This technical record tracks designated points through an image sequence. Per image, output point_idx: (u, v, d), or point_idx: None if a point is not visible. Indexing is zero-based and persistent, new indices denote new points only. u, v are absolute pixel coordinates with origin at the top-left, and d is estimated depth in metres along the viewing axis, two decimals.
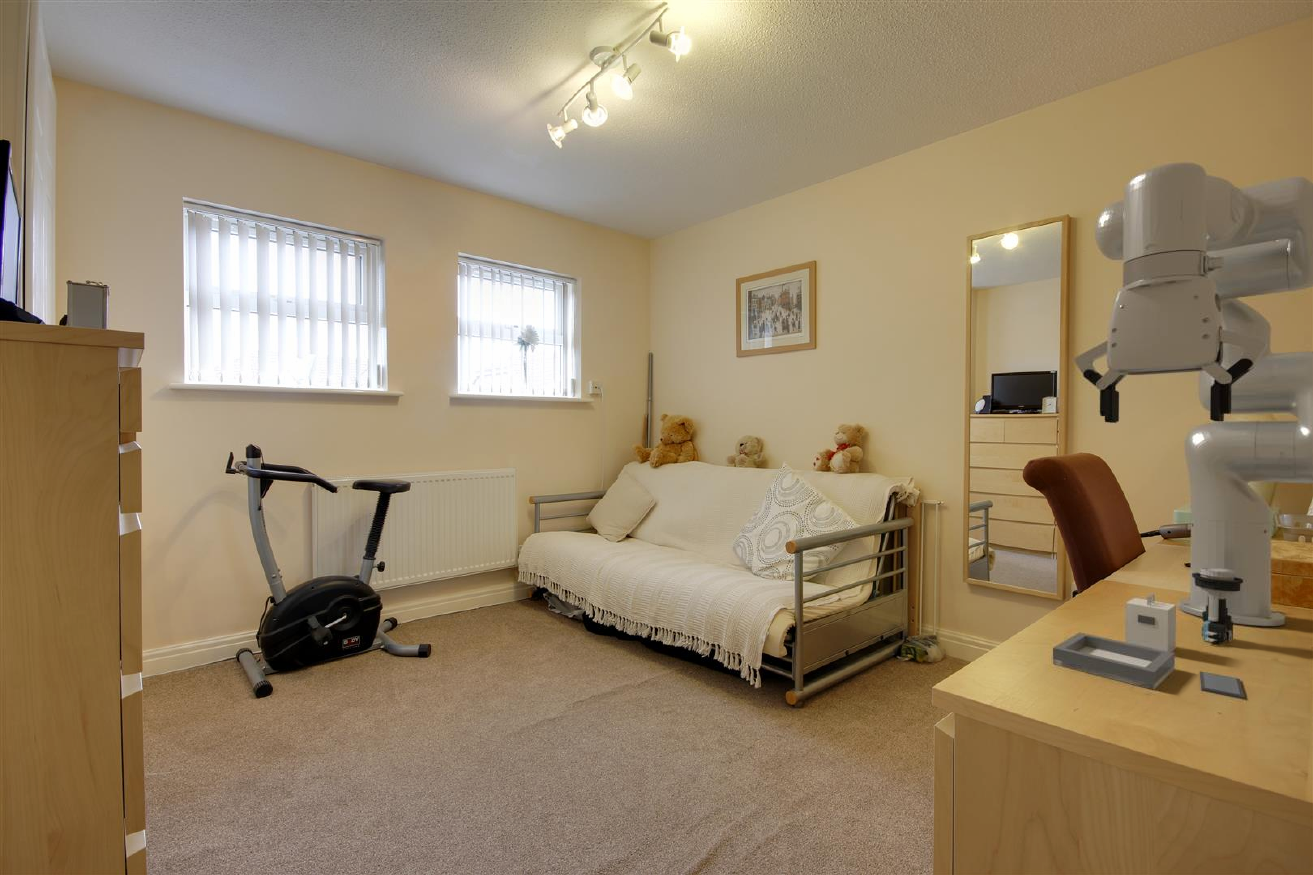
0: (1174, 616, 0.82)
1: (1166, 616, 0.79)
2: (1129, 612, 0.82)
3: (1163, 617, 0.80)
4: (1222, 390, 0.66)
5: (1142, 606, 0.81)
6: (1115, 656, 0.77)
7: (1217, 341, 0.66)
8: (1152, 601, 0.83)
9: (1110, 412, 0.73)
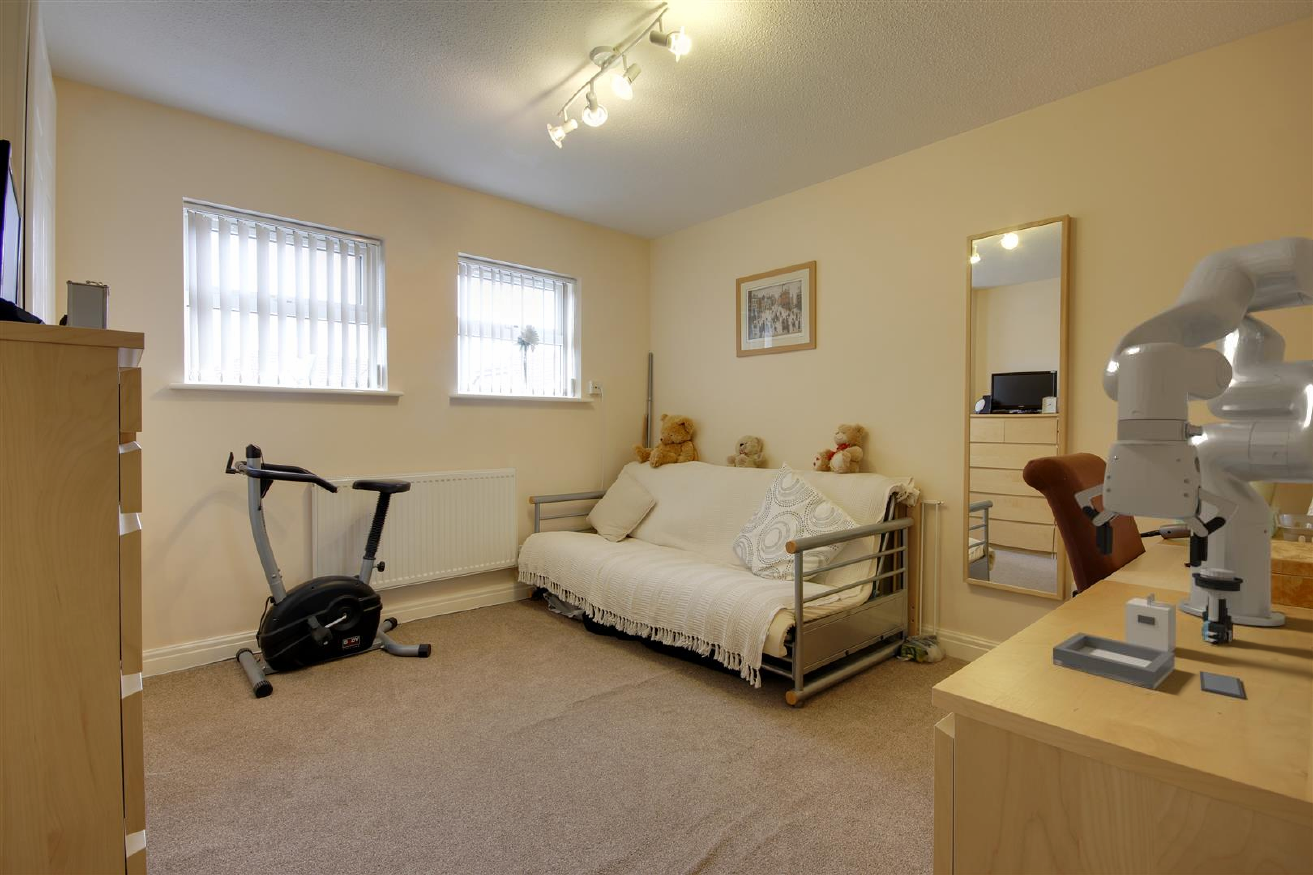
0: (1174, 616, 0.82)
1: (1166, 616, 0.79)
2: (1129, 612, 0.82)
3: (1163, 617, 0.80)
4: (1200, 541, 0.78)
5: (1142, 606, 0.81)
6: (1115, 656, 0.77)
7: (1196, 499, 0.77)
8: (1152, 601, 0.83)
9: (1105, 546, 0.85)
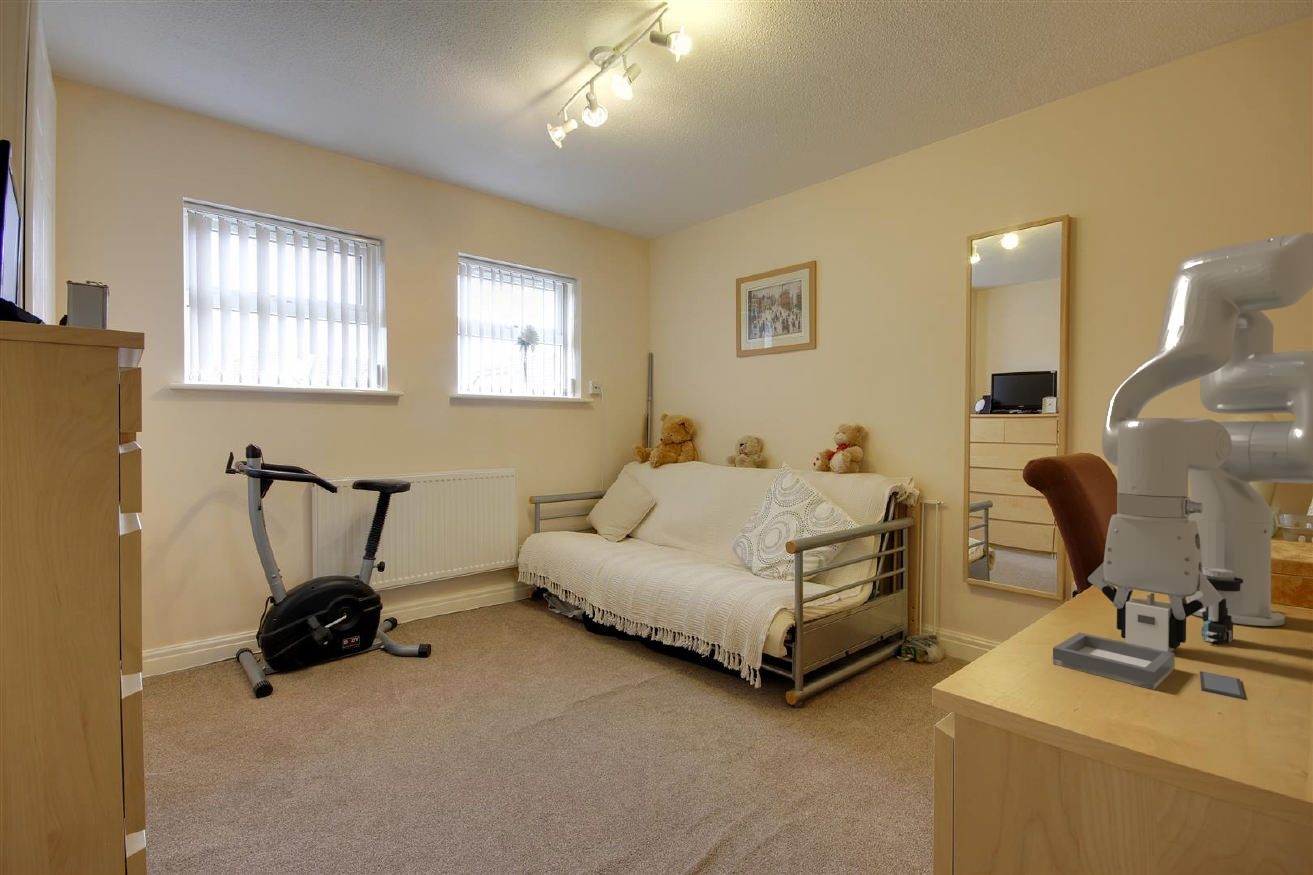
0: None
1: (1166, 616, 0.79)
2: (1129, 612, 0.82)
3: (1163, 617, 0.80)
4: (1178, 623, 0.80)
5: (1142, 606, 0.81)
6: (1115, 656, 0.77)
7: (1196, 577, 0.78)
8: (1152, 601, 0.83)
9: None
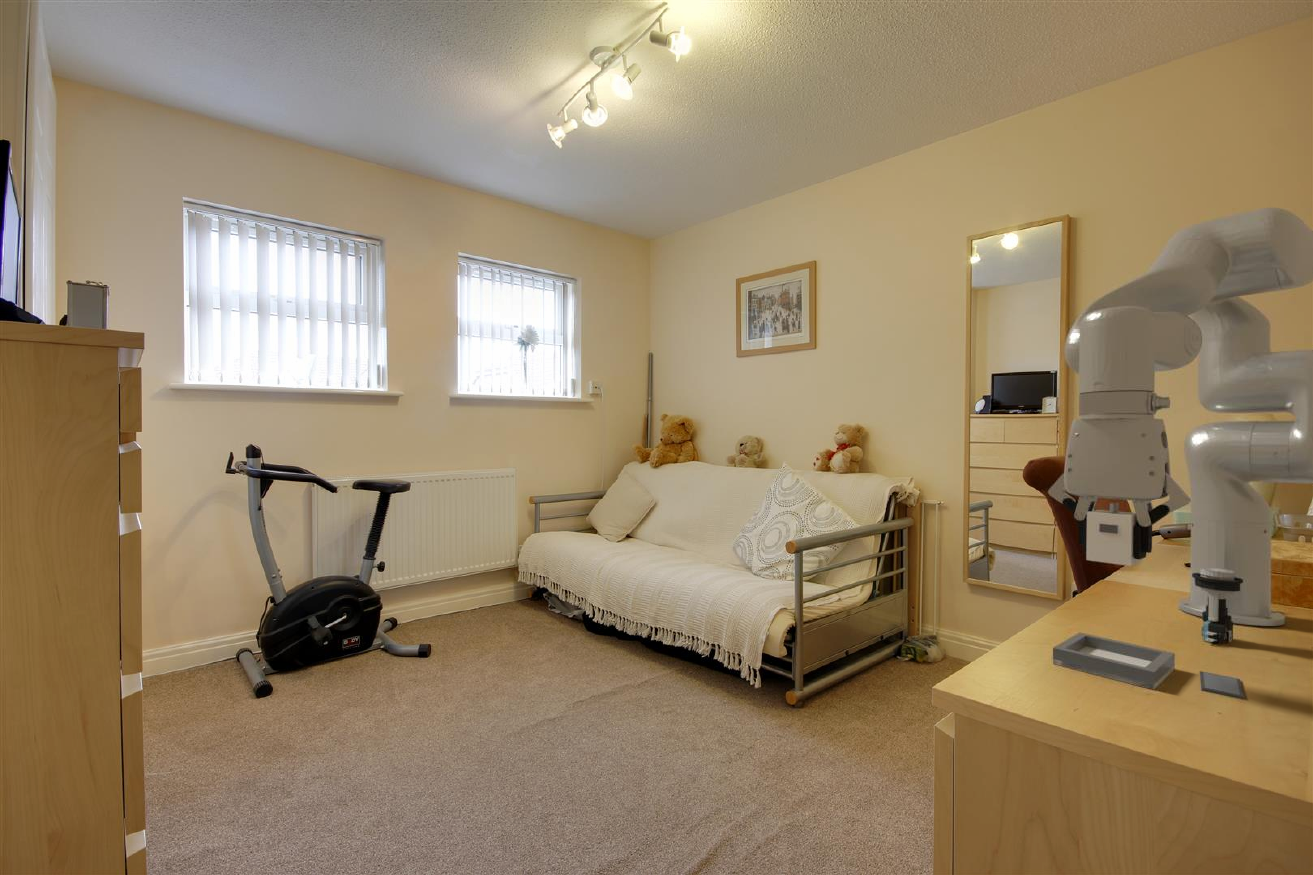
0: None
1: (1129, 522, 0.72)
2: (1090, 522, 0.75)
3: (1126, 524, 0.72)
4: (1143, 531, 0.72)
5: (1104, 514, 0.74)
6: (1115, 656, 0.77)
7: (1162, 478, 0.70)
8: (1116, 510, 0.75)
9: None
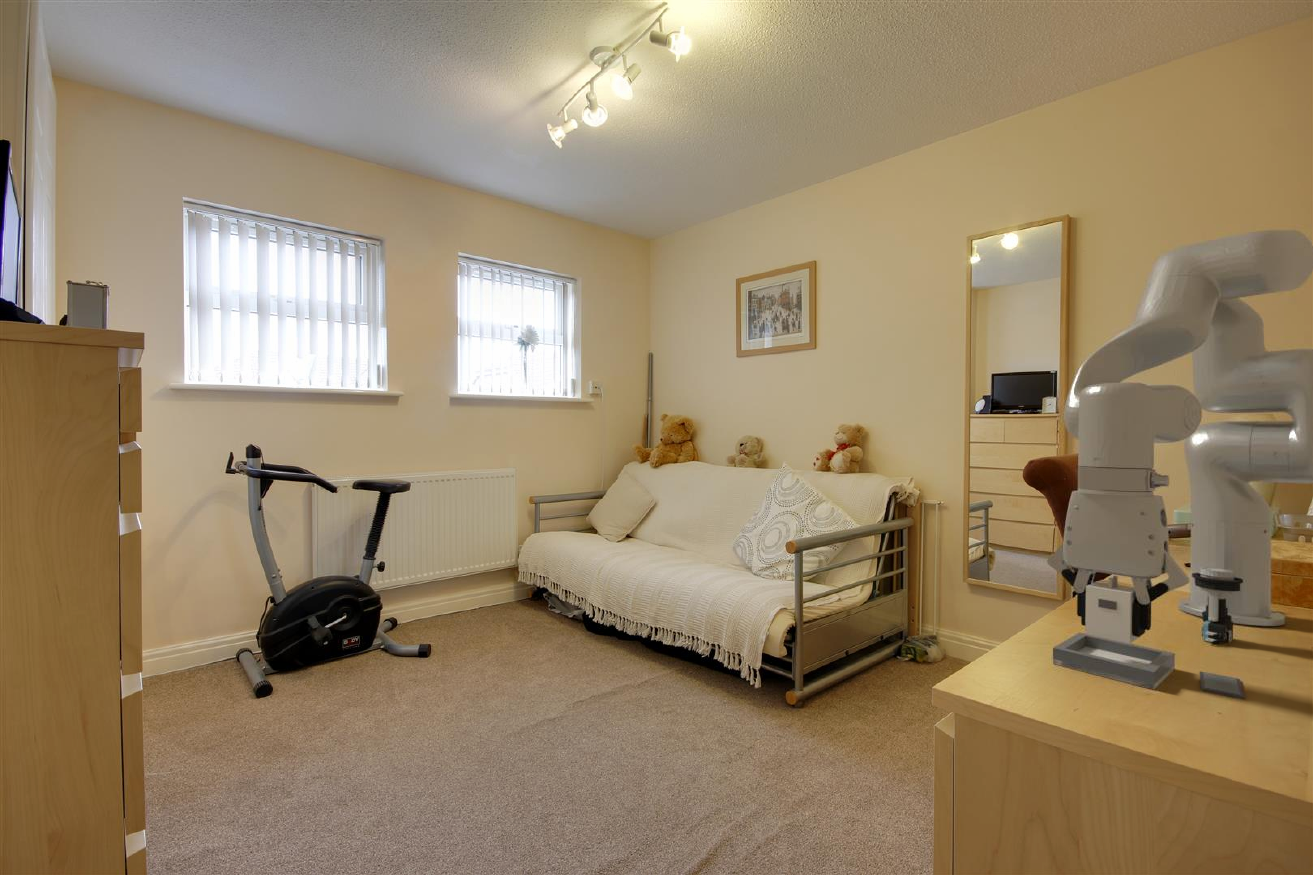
0: None
1: (1128, 600, 0.72)
2: (1089, 596, 0.75)
3: (1125, 601, 0.72)
4: (1142, 608, 0.72)
5: (1103, 589, 0.74)
6: (1115, 656, 0.77)
7: (1162, 557, 0.70)
8: (1115, 584, 0.75)
9: None
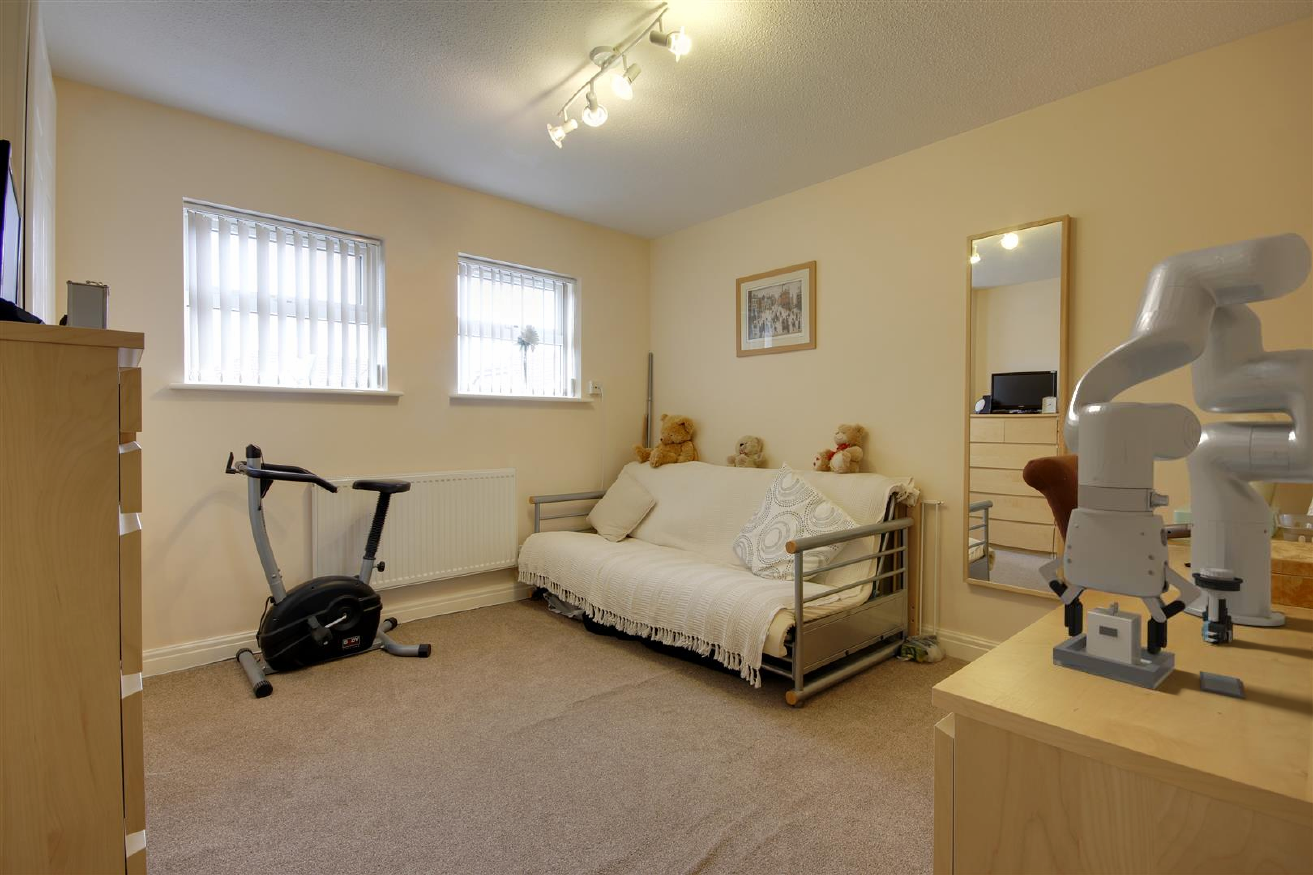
0: (1139, 627, 0.74)
1: (1129, 627, 0.72)
2: (1090, 623, 0.75)
3: (1126, 629, 0.72)
4: (1158, 626, 0.71)
5: (1104, 616, 0.74)
6: None
7: (1162, 577, 0.70)
8: (1116, 610, 0.75)
9: (1074, 628, 0.77)
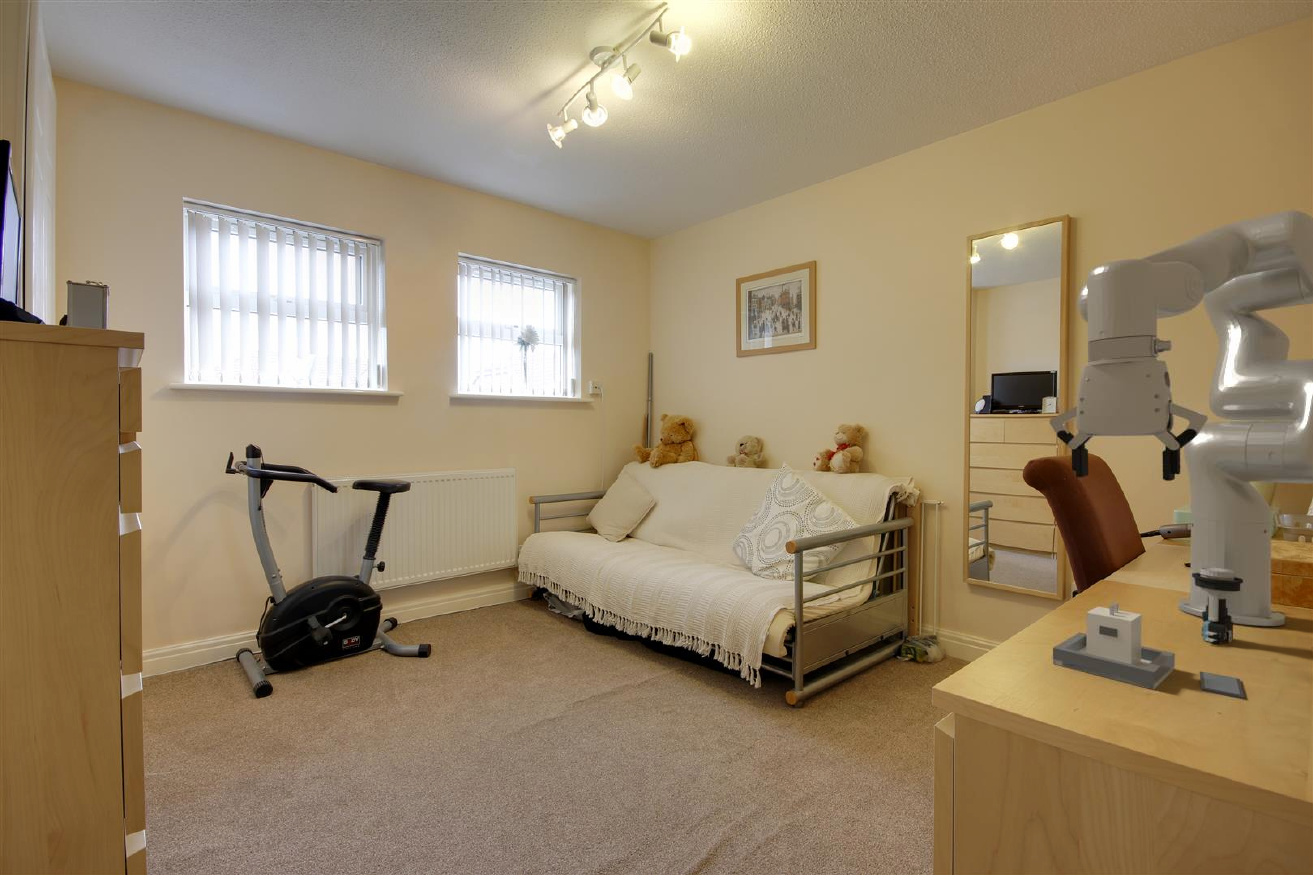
0: (1139, 627, 0.74)
1: (1129, 627, 0.72)
2: (1090, 623, 0.75)
3: (1126, 629, 0.72)
4: (1172, 455, 0.78)
5: (1104, 616, 0.74)
6: None
7: (1167, 414, 0.78)
8: (1116, 610, 0.75)
9: (1081, 469, 0.85)
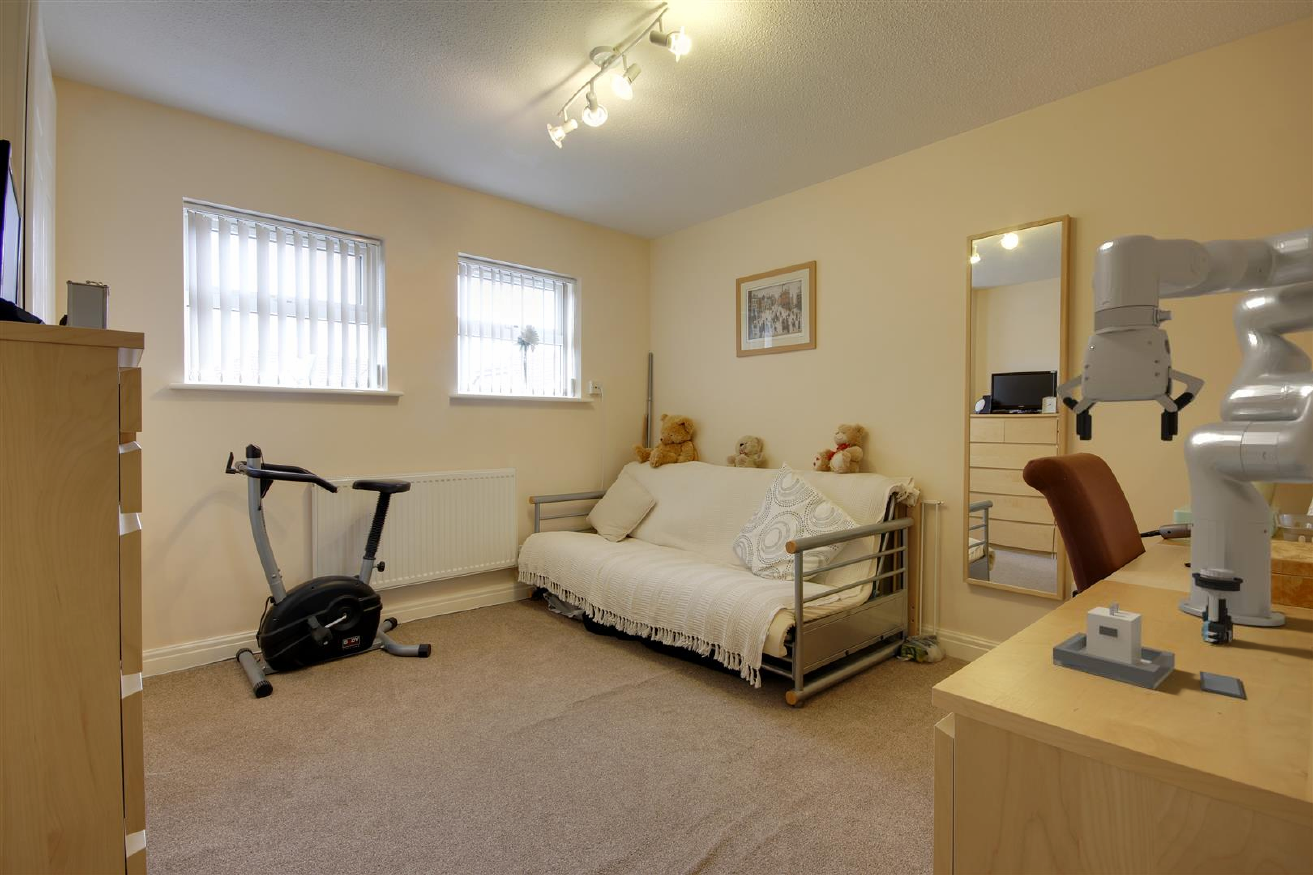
0: (1139, 627, 0.74)
1: (1129, 627, 0.72)
2: (1090, 623, 0.75)
3: (1126, 629, 0.72)
4: (1170, 416, 0.84)
5: (1104, 616, 0.74)
6: None
7: (1166, 378, 0.83)
8: (1116, 610, 0.75)
9: (1084, 432, 0.91)
